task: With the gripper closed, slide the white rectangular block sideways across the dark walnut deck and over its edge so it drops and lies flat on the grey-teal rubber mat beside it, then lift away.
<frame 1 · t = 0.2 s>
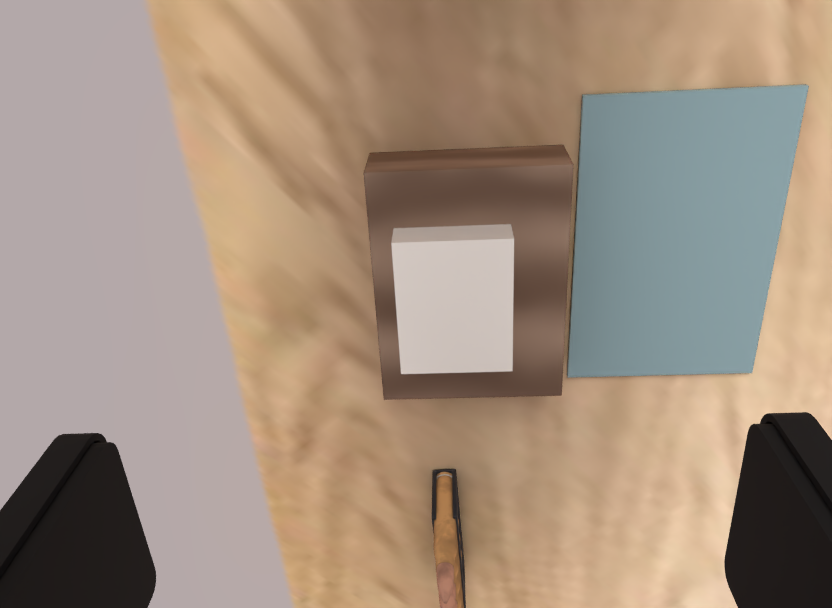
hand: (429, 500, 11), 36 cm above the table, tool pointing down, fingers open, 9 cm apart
mat: (673, 244, 48), on the table
deck: (468, 265, 49), on the table
ammunition clip: (449, 516, 60), on the table
white rectangular block: (454, 301, 45), point 5 cm above the table, touching deck
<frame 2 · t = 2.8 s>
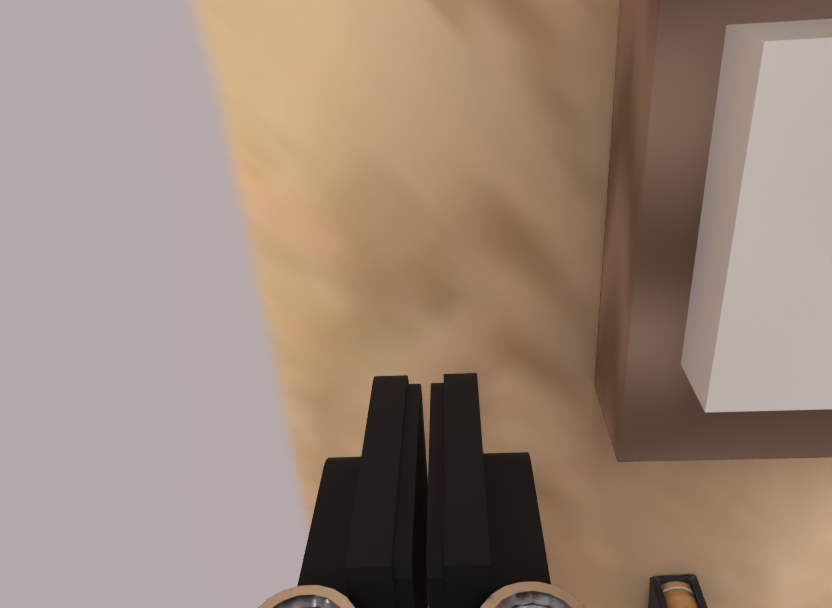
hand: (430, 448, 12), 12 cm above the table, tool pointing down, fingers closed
deck: (815, 157, 21), on the table
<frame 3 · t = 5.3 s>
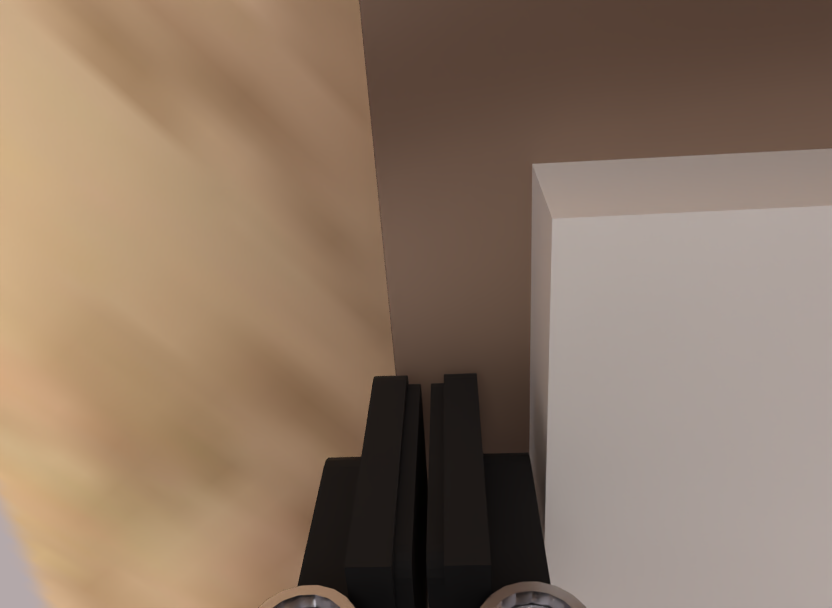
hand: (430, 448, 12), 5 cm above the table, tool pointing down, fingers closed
deck: (685, 299, 16), on the table
white rectangular block: (763, 454, 11), point 5 cm above the table, touching deck, gripper
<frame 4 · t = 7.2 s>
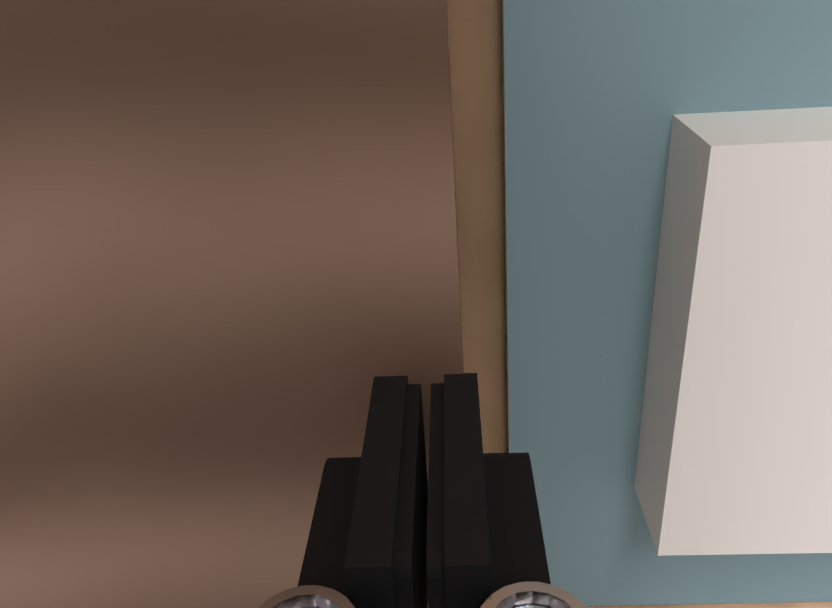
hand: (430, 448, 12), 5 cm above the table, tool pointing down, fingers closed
mat: (818, 252, 15), on the table
deck: (195, 323, 16), on the table
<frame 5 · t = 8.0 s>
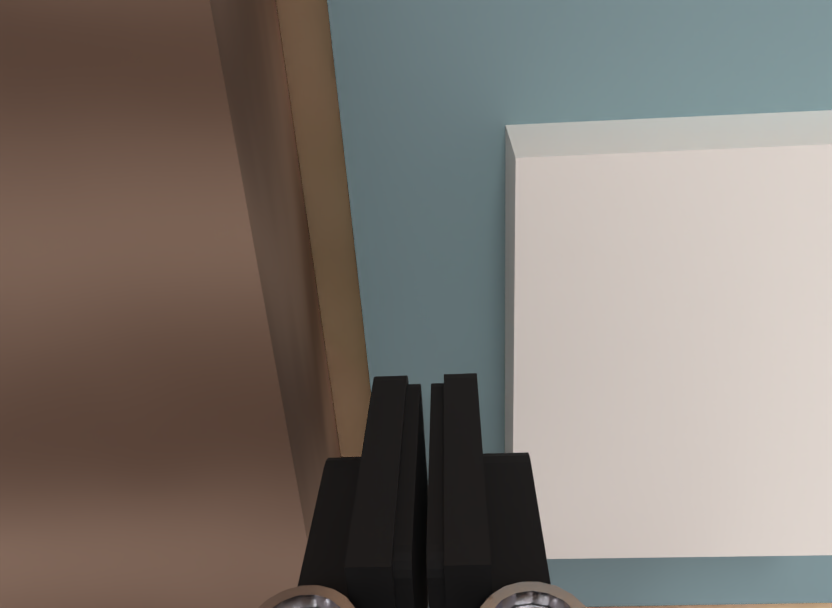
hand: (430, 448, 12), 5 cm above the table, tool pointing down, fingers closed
mat: (665, 261, 15), on the table
deck: (61, 328, 17), on the table
white rectangular block: (683, 353, 15), point 1 cm above the table, tilted 180°, touching mat
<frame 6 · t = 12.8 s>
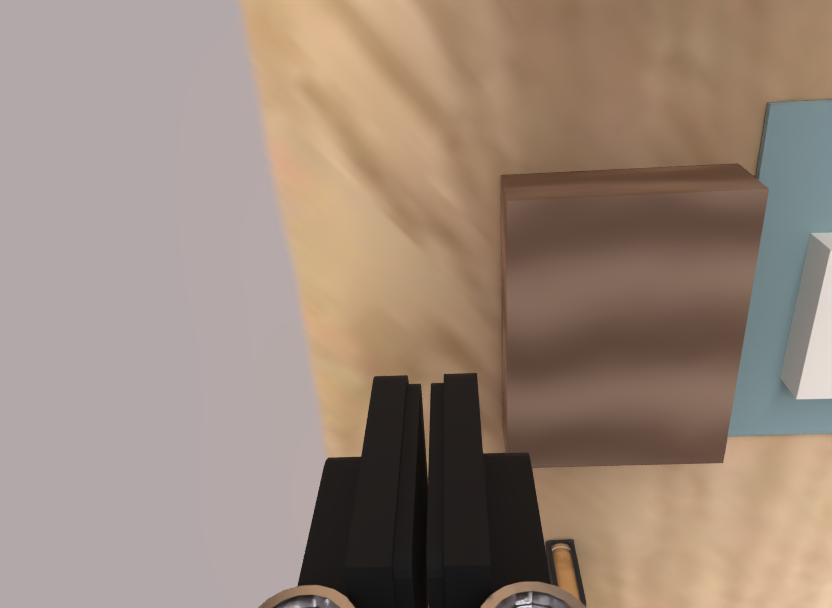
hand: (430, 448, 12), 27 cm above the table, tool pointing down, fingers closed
deck: (608, 307, 41), on the table
ammunition clip: (560, 592, 52), on the table
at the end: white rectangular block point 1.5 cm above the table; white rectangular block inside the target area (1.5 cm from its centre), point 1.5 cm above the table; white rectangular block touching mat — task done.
